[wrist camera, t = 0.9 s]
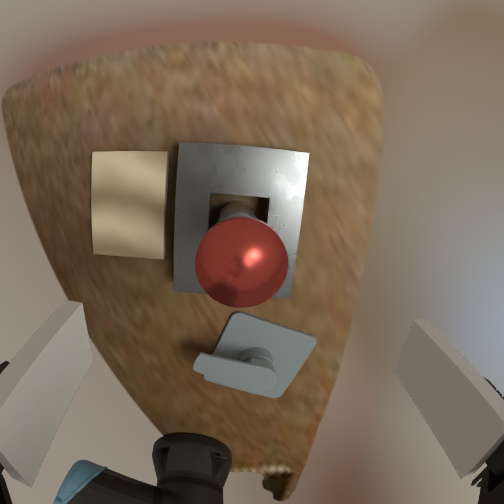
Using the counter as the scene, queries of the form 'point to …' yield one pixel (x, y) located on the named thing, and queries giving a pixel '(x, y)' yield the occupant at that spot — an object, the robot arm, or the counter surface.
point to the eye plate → (235, 183)
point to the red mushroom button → (241, 258)
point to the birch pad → (129, 203)
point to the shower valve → (256, 355)
